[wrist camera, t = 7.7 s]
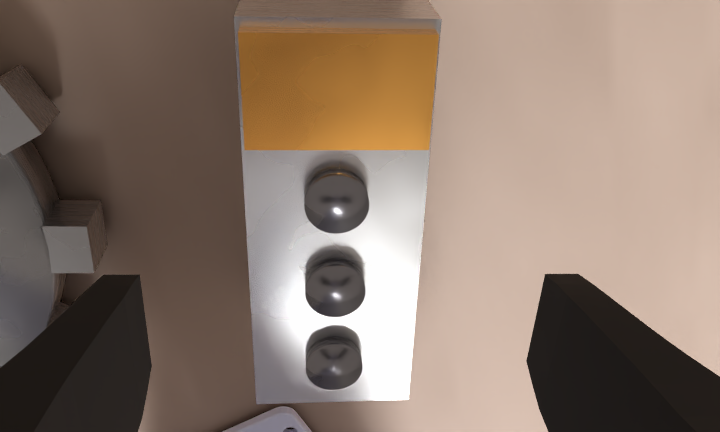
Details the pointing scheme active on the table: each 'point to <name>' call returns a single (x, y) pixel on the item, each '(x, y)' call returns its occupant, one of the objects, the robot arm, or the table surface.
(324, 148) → the knob box
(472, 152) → the table surface
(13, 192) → the sprocket
